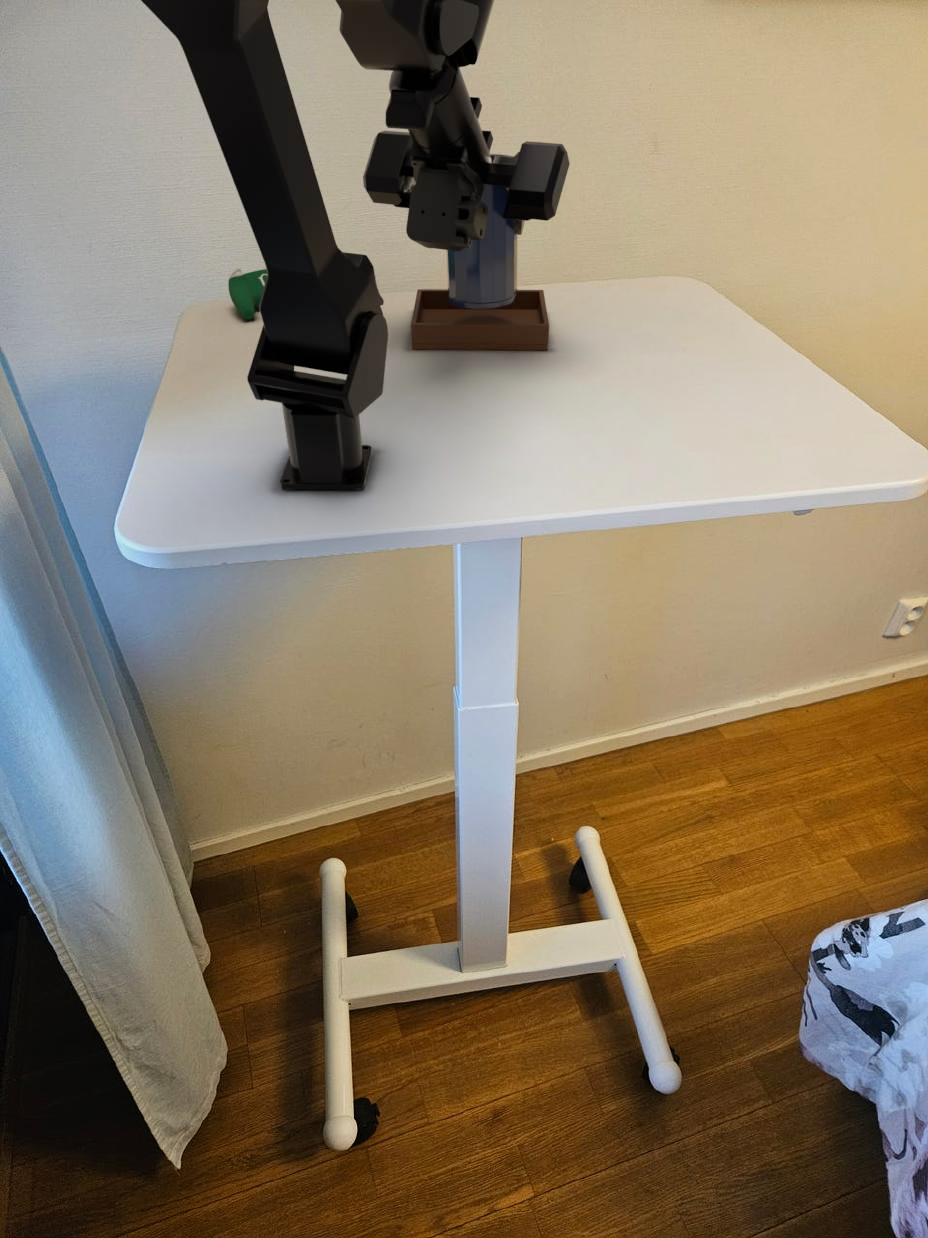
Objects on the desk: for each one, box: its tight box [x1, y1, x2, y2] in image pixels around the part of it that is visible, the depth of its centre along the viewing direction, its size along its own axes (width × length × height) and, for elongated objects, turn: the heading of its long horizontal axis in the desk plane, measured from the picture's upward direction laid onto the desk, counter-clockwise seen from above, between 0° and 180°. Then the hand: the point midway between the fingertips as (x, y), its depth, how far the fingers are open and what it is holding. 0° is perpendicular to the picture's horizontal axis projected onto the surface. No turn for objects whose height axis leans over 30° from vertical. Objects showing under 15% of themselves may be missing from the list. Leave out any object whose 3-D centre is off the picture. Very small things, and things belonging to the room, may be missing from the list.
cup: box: [445, 153, 518, 309], centre depth 85 cm, size 7×7×13 cm
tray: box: [410, 288, 550, 351], centre depth 91 cm, size 11×14×3 cm
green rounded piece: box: [227, 268, 268, 321], centre depth 96 cm, size 9×4×6 cm
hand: (485, 226), depth 86 cm, fingers closed on cup, 7 cm apart
